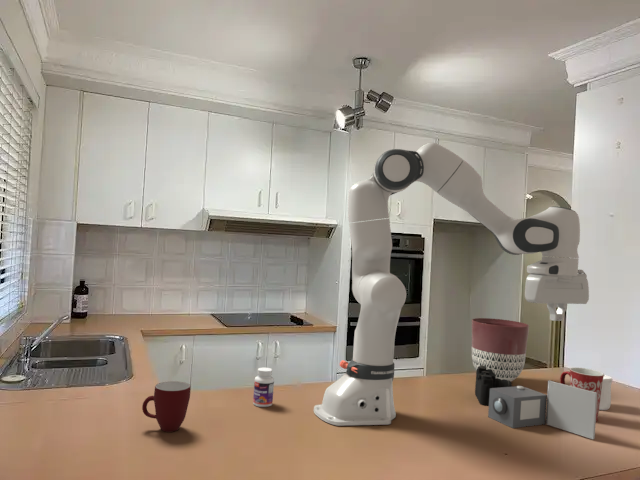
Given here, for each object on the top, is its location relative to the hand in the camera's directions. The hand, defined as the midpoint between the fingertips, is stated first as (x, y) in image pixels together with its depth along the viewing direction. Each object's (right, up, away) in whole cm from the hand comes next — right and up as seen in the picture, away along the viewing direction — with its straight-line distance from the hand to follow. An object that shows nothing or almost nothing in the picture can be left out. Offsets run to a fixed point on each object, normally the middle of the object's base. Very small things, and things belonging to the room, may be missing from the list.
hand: (556, 320), depth 135 cm
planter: (+1, -30, +48) cm, 57 cm away
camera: (-9, -29, +24) cm, 39 cm away
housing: (-8, -29, +6) cm, 30 cm away
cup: (+23, -31, +26) cm, 47 cm away
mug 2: (+13, -30, +15) cm, 36 cm away
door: (+3, -29, 0) cm, 29 cm away
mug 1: (-99, -23, -17) cm, 103 cm away
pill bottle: (-79, -24, +6) cm, 82 cm away
